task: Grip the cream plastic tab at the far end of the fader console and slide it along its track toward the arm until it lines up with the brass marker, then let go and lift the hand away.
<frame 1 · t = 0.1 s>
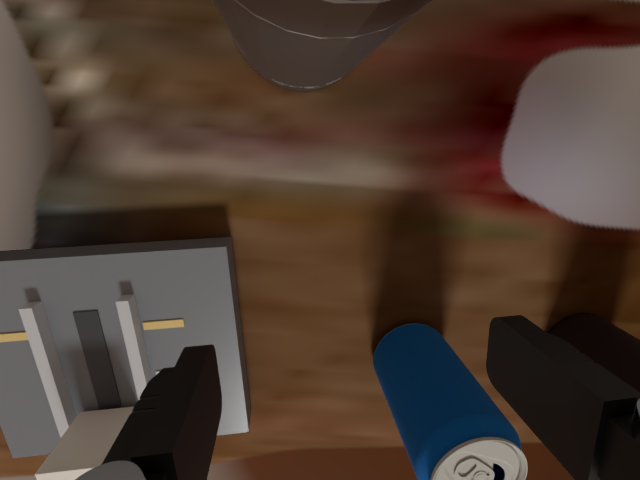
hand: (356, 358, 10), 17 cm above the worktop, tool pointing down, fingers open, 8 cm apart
fader tab: (95, 453, 24), point 5 cm above the worktop, slide at 8.0 cm
beverage can: (406, 349, 31), on the worktop
fader console: (126, 340, 28), on the worktop
bottle: (571, 343, 33), on the worktop
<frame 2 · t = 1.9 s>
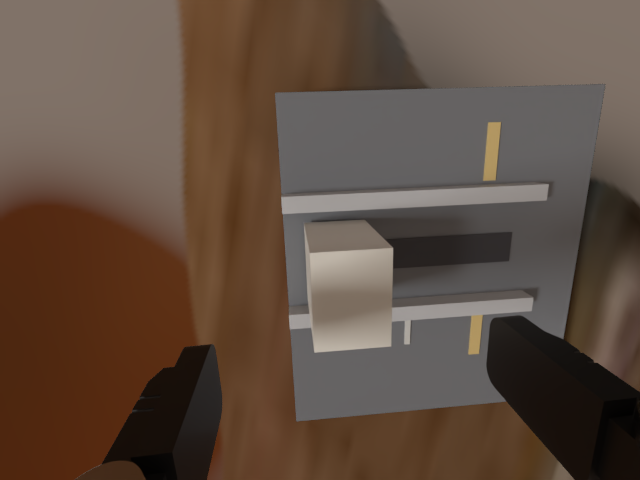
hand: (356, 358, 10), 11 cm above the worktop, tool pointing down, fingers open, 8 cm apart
fader tab: (342, 277, 15), point 5 cm above the worktop, slide at 8.0 cm
fader console: (420, 255, 21), on the worktop
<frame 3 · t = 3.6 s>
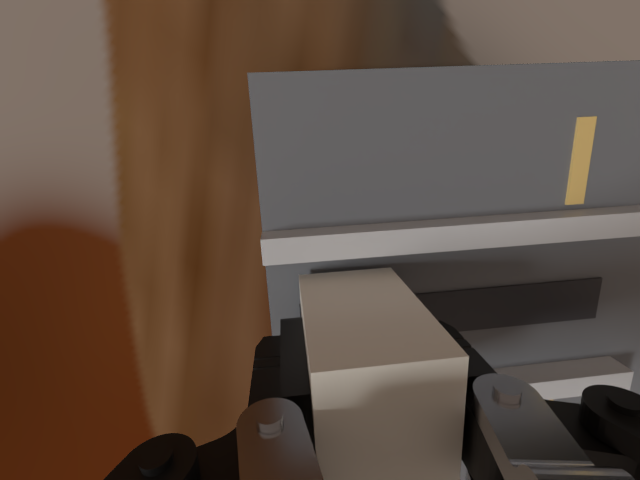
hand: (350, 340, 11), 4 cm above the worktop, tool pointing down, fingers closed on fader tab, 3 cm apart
fader tab: (363, 373, 9), point 5 cm above the worktop, slide at 8.0 cm, touching gripper
fader console: (460, 303, 15), on the worktop
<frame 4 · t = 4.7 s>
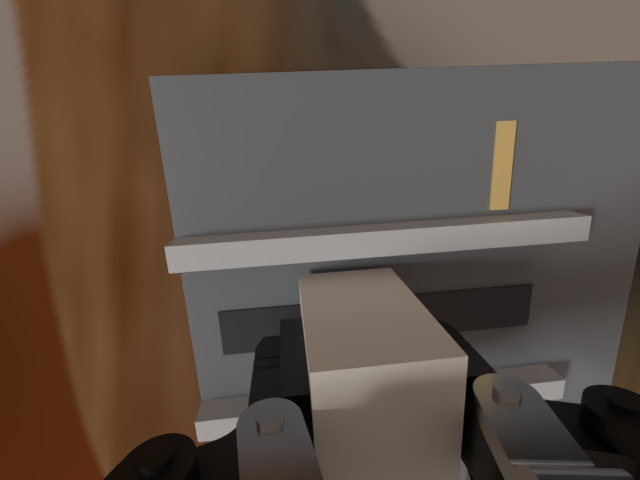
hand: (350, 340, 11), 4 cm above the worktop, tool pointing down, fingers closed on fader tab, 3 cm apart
fader tab: (362, 373, 9), point 5 cm above the worktop, slide at 5.3 cm, touching gripper
fader console: (400, 309, 15), on the worktop
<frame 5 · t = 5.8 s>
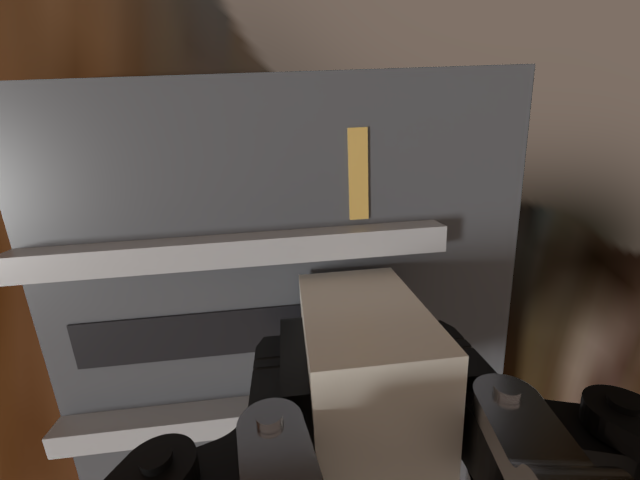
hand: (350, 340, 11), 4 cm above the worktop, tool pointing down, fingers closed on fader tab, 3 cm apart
fader tab: (363, 373, 9), point 5 cm above the worktop, slide at 0.6 cm, touching gripper
fader console: (289, 319, 15), on the worktop
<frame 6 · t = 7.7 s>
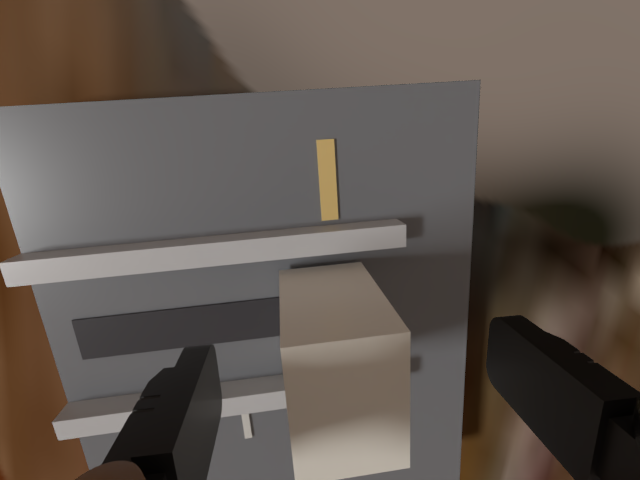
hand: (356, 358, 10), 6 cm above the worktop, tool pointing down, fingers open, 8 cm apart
fader tab: (334, 353, 11), point 5 cm above the worktop, slide at 0.5 cm
fader console: (274, 311, 16), on the worktop
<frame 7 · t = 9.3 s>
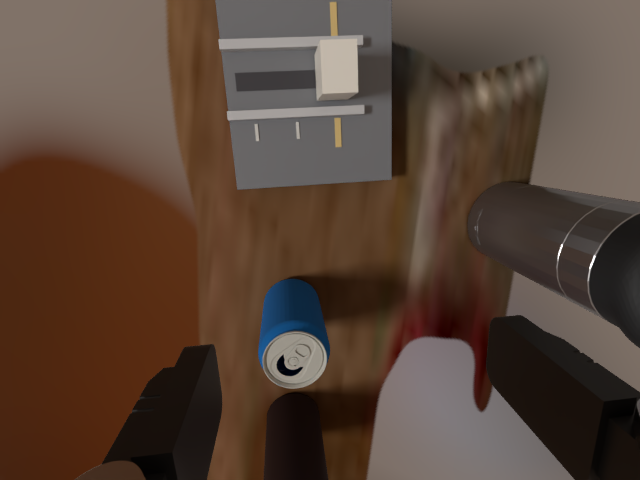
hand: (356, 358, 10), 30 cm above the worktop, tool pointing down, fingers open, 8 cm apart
fader tab: (335, 72, 31), point 5 cm above the worktop, slide at 0.5 cm
beverage can: (291, 300, 42), on the worktop
fader console: (308, 94, 36), on the worktop
bottle: (293, 412, 46), on the worktop
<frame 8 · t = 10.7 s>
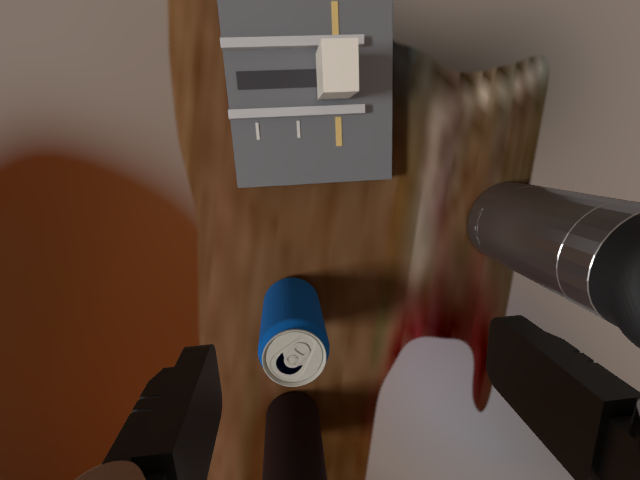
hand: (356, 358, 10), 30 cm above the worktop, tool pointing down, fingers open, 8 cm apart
fader tab: (336, 71, 31), point 5 cm above the worktop, slide at 0.5 cm
beverage can: (291, 299, 42), on the worktop
fader console: (309, 93, 36), on the worktop
bottle: (292, 411, 46), on the worktop
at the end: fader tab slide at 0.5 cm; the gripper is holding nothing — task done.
